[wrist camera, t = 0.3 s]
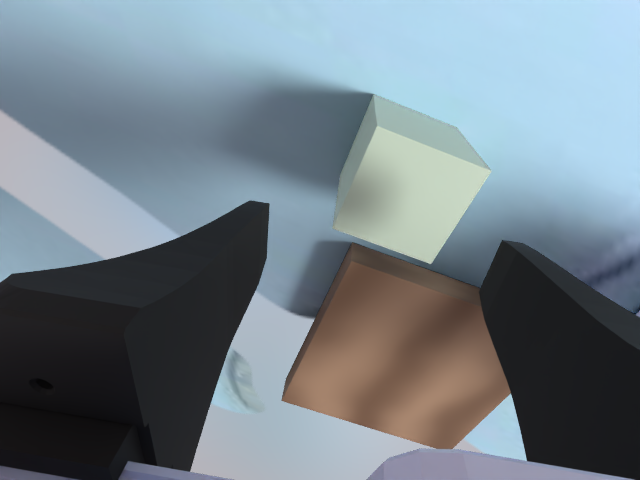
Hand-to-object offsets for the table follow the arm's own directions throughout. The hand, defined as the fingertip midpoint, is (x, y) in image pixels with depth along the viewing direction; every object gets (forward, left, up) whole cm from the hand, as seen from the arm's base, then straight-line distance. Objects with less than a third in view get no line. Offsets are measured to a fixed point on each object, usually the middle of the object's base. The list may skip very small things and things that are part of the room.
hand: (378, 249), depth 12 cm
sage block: (-1, 0, -10) cm, 10 cm away
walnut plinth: (-8, +12, -9) cm, 18 cm away
